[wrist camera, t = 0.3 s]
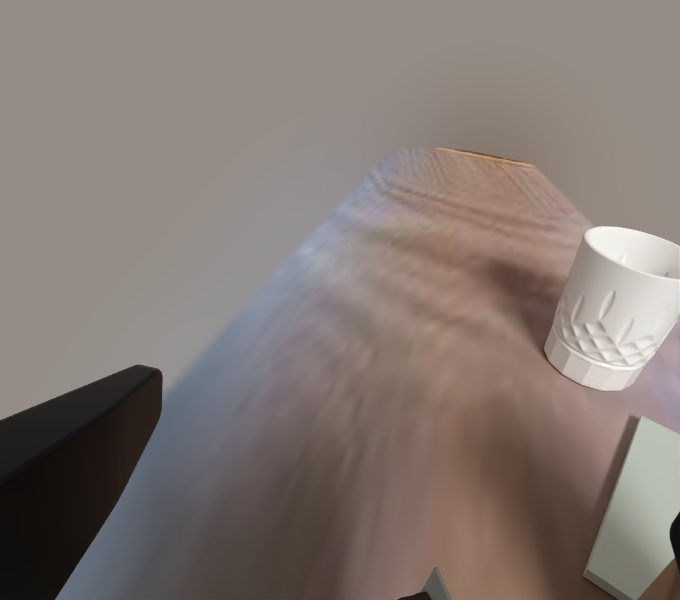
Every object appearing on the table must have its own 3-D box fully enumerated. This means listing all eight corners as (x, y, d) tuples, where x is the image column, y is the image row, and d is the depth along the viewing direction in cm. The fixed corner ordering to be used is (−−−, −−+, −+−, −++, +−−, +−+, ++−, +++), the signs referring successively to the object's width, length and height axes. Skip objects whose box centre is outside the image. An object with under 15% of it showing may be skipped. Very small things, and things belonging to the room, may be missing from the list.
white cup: (566, 398, 35) (628, 277, 30) (519, 331, 42) (563, 222, 36) (663, 398, 36) (739, 283, 31) (603, 333, 43) (657, 229, 37)
